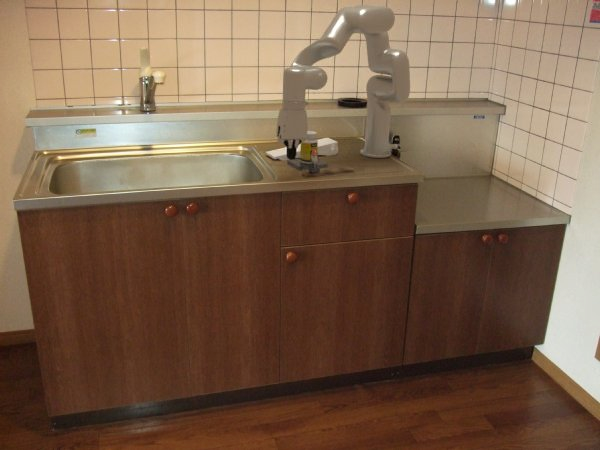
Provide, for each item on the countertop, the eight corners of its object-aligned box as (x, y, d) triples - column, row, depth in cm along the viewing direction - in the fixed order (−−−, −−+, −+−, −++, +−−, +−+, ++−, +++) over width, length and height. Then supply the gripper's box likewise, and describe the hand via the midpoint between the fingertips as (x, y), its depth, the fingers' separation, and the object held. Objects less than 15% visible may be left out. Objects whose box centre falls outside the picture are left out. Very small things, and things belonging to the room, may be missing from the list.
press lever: (316, 170, 219) (317, 149, 216) (319, 172, 216) (320, 150, 214) (308, 171, 217) (309, 149, 214) (311, 172, 215) (312, 151, 212)
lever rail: (349, 169, 226) (349, 167, 225) (353, 171, 223) (354, 169, 223) (302, 175, 217) (302, 172, 216) (305, 177, 214) (306, 174, 214)
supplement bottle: (311, 165, 225) (312, 135, 221) (296, 162, 228) (297, 132, 224) (320, 161, 230) (321, 132, 226) (305, 158, 233) (306, 129, 229)
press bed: (314, 160, 236) (315, 157, 236) (327, 167, 228) (327, 164, 227) (287, 163, 231) (287, 160, 230) (299, 170, 223) (299, 167, 222)
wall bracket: (276, 175, 236) (338, 159, 246) (276, 159, 231) (339, 143, 242) (265, 162, 243) (326, 148, 253) (265, 146, 238) (327, 132, 249)
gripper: (307, 103, 210) (305, 154, 217) (268, 104, 204) (267, 157, 210) (318, 106, 204) (315, 159, 211) (278, 108, 198) (276, 163, 204)
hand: (291, 158), depth 210 cm, fingers closed
